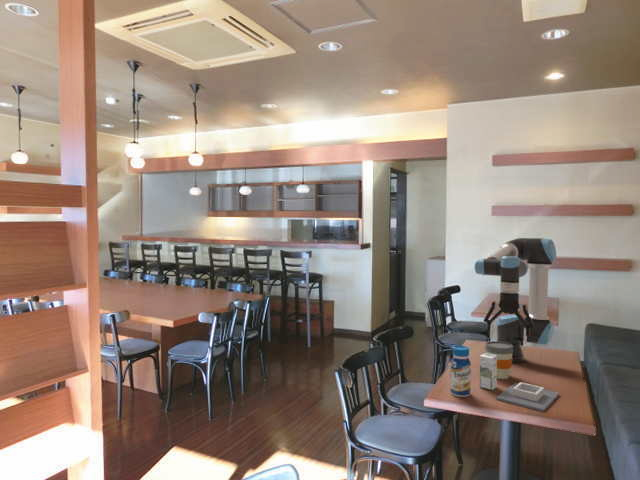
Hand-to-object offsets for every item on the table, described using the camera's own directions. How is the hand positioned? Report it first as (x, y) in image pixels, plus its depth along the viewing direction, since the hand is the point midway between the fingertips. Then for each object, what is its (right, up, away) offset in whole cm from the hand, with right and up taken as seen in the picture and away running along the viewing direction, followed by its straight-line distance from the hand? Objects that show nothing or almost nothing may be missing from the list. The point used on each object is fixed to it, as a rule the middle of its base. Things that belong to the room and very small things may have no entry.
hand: (507, 341), depth 194 cm
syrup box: (-7, -22, +5) cm, 23 cm away
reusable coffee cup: (+4, -21, +20) cm, 29 cm away
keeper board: (+6, -22, -6) cm, 24 cm away
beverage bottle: (-21, -22, -2) cm, 31 cm away
